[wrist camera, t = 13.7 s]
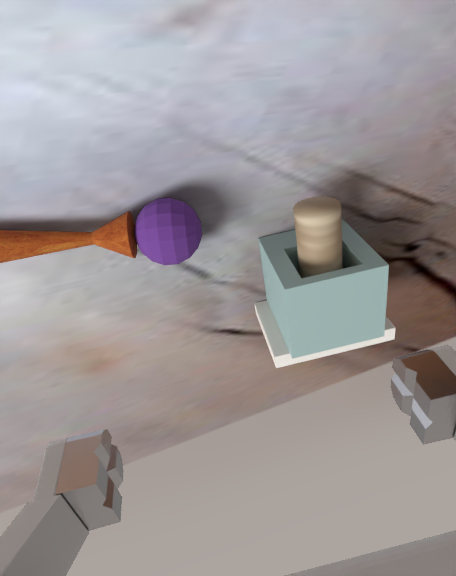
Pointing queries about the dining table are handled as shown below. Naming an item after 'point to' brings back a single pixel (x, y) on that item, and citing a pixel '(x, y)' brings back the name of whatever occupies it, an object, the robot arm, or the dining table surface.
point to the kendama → (119, 235)
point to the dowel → (318, 235)
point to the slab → (284, 358)
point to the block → (325, 294)
